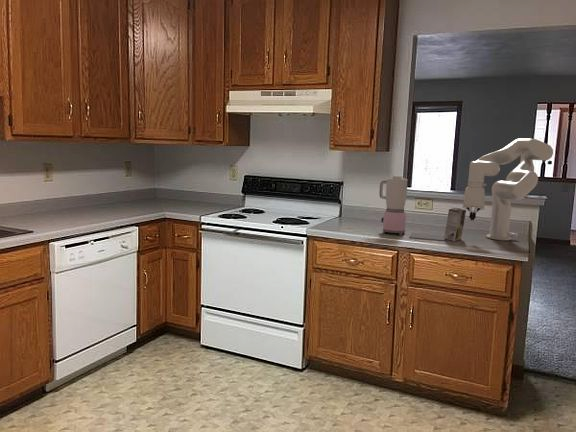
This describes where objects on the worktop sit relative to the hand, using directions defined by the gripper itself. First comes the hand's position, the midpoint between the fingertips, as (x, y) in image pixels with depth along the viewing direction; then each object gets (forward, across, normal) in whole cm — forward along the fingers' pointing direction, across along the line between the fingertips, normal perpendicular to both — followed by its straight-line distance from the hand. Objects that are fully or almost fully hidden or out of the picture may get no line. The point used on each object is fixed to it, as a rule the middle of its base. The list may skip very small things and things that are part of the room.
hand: (472, 219), depth 258 cm
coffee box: (+11, +9, 0) cm, 14 cm away
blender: (+12, +42, -4) cm, 44 cm away
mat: (+11, +22, 0) cm, 25 cm away
